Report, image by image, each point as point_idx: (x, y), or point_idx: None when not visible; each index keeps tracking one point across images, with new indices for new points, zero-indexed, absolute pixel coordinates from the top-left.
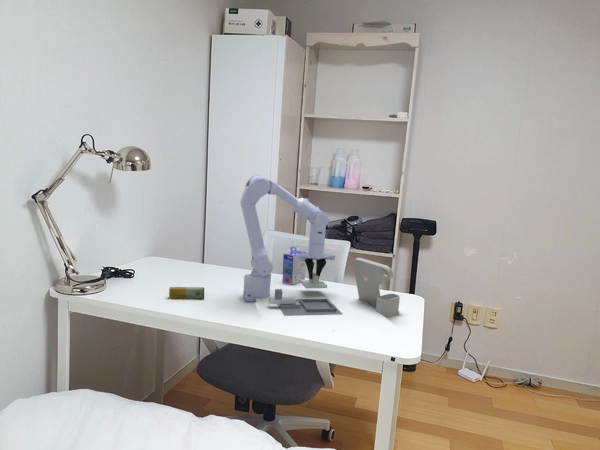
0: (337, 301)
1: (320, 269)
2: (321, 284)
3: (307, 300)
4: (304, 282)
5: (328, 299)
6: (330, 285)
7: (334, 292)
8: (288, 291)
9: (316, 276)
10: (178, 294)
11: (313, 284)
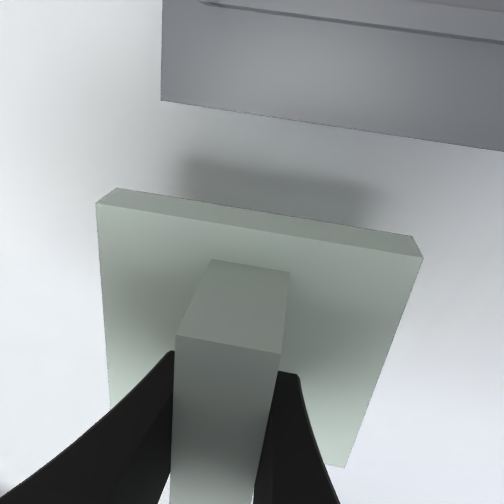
0: (64, 114)
1: (81, 482)
2: (170, 247)
3: (482, 12)
4: (364, 373)
5: (163, 70)
6: (29, 443)
7: (34, 326)
8: (385, 421)
9: (229, 344)
10: None
11: (288, 271)
